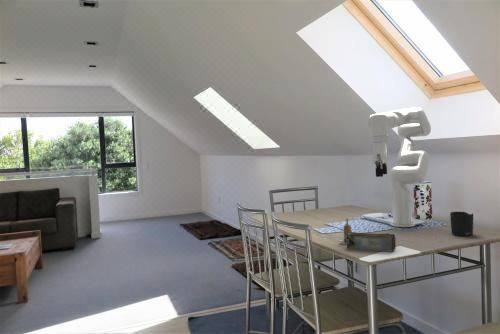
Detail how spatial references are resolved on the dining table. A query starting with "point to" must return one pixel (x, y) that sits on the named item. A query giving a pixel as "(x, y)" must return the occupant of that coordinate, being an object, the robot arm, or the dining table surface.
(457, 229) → the pen holder
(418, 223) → the dining table surface
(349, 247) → the beverage carton
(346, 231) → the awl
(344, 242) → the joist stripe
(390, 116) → the robot arm
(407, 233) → the dining table surface
